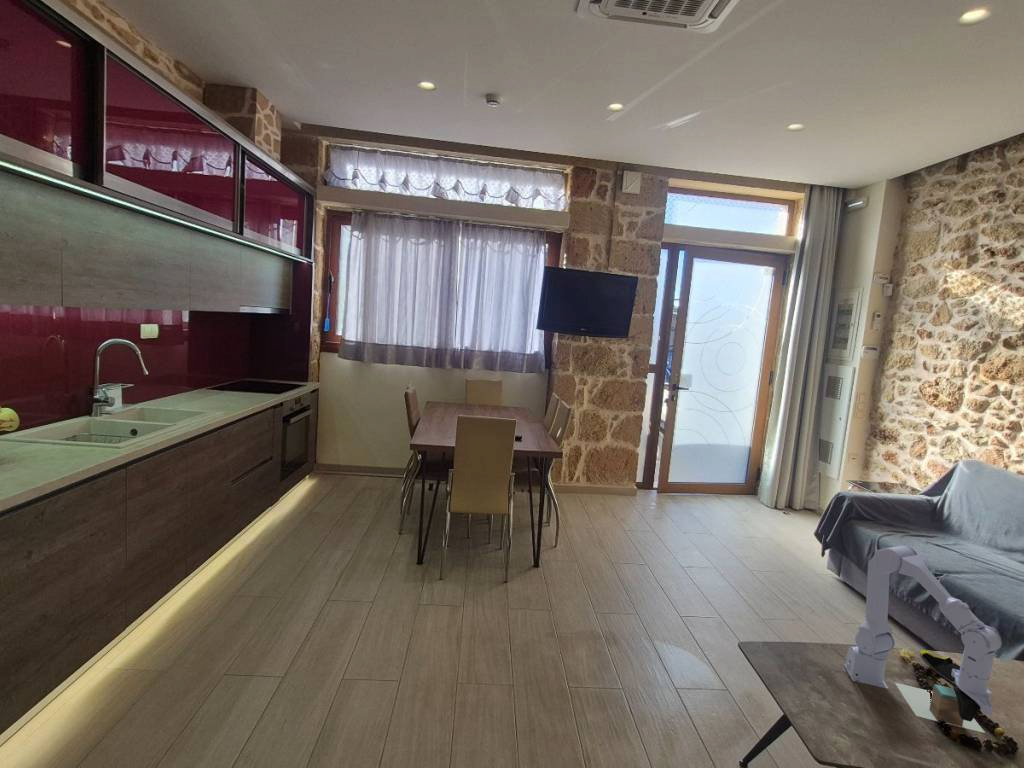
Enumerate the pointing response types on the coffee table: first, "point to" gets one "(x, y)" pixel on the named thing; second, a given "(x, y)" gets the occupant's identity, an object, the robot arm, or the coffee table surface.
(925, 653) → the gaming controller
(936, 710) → the walnut block
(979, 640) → the robot arm
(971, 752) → the coffee table surface
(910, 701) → the sage mat
